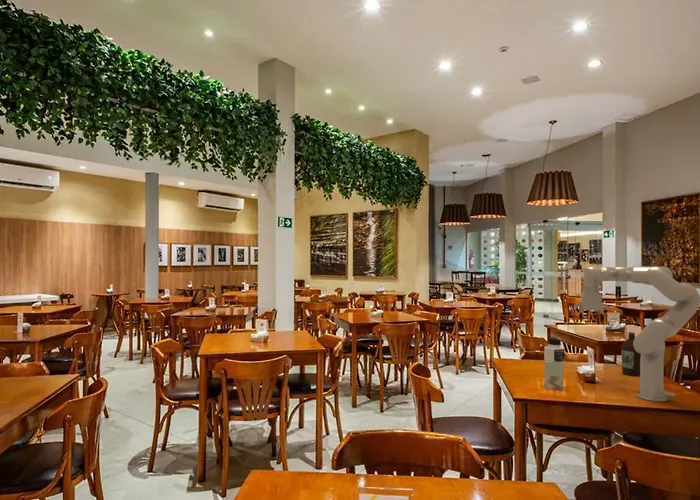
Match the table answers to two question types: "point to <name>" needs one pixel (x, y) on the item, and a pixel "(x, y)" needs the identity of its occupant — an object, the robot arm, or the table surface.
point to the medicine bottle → (554, 351)
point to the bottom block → (553, 382)
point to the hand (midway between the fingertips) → (591, 321)
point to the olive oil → (630, 357)
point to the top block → (554, 368)
